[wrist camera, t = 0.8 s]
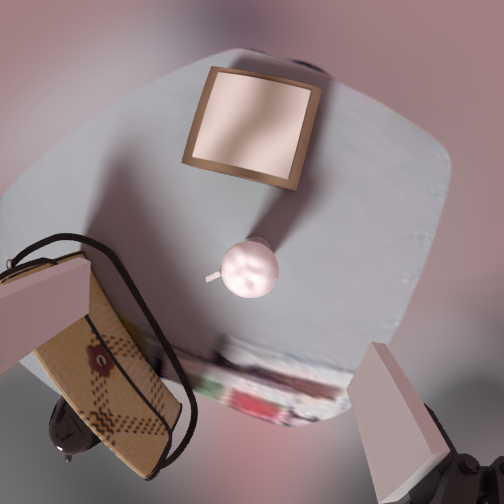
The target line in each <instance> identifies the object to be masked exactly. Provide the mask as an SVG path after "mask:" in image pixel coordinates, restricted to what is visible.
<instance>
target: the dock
mask: <svg viewBox="0 0 504 504" xmlns="http://www.w3.org/2000/svg"><path fill="white" fill-rule="evenodd" d="M321 92H322V88H319V87H316V86H312V85H309V84H305V83H301V82H297V81H293V80H289V79H285V78H281V77H276V76H271V75H266V74H261V73H256V72H250V71H244V70H238V69H231V68H223V67H215V66H211V69H210V72H209V75H208V77H207V80H206V83H205V86H204V89H203V92H202V95H201V98H200V101H199V104H198V107H197V110H196V113H195V117H194V120H193V123H192V126H191V130H190V133H189V137H188V140H187V144H186V147H185V151H184V155H183V158H182V162H181V163H184V164H186V165H189V166H192V167H195V168H200V169H205V170H209V171H214V172H218V173H223V174H227V175H231V176H235V177H240V178H244V179H248V180H252V181H256V182H260V183H263V184H267V185H271V186H275V187H278V188H282V189H286V190H289V191H293V192H294V191H296V190H297V187H298V183H299V179H300V176H301V172H302V168H303V164H304V160H305V156H306V152H307V149H308V145H309V141H310V137H311V133H312V129H313V125H314V121H315V117H316V112H317V108H318V104H319V100H320V96H321Z"/></svg>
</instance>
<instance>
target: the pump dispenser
mask: <svg viewBox="0 0 504 504" xmlns="http://www.w3.org/2000/svg"><path fill="white" fill-rule="evenodd" d="M48 434H49V438H50V440H51V443H52V444H53V446H54V447H55V448H56V449H57V450H59V451H60V452H62V453H64V454H65V460H66V461H68V462H71V460H72V455H76V454H81V453H83V452H86V451H88V450H89V449H91V448H93V447H95V446H96V445H97V444H99V443H100V442H102V441H101V440H100V439H99V438H98V436H97V435H96V434H95V433H94V432H93V431H92V430H91V429H90V428H89V427H88V426H87V425H86V423H85V422H84V421H83V420H82V419H81V418H80V417H79V415H78V414H77V413H76V412H75V411H74V409H73V408H72V407H71V406H70V405H69V403H68V402H67V401H66V399H65V398H64V397H63V396H62V394H61V395H60V397H59V398H58V400H57V402H56V404H55V407H54V409H53V412H52V414H51V417H50V421H49V428H48Z"/></svg>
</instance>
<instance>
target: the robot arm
mask: <svg viewBox="0 0 504 504" xmlns="http://www.w3.org/2000/svg"><path fill="white" fill-rule="evenodd" d="M90 267H91V261H88V260H86V259H83V258H81V257H78V258H75V259H72V260H69V261H67V262H64V263H61V264H58V265H55V266H53V267H50V268H47V269H44V270H42V271H39V272H36V273H34V274H31V275H28V276H26V277H23V278H21V279H18V280H15V281H13V282H10V283H8V284H5V285H3V286H0V374H1V373H3V372H4V371H5V370H6V369H8V368H10V367H11V366H12V365H14V364H15V363H16V362H18V361H19V360H21V359H22V358H23V357H25V356H26V355H28V354H29V353H30V352H32V351H33V350H35V349H36V348H38V347H39V346H40V345H42V344H43V343H45V342H46V341H48V340H49V339H51V338H52V337H54V336H55V335H56V334H58V333H59V332H61V331H62V330H64V329H65V328H67V327H68V326H70V325H71V324H73V323H74V322H76V321H77V320H79V319H80V318H82V317H83V316H85V315H86V314H88V313H89V285H90ZM347 392H348V396H349V399H350V402H351V405H352V409H353V412H354V415H355V418H356V422H357V425H358V429H359V432H360V435H361V439H362V442H363V446H364V449H365V453H366V456H367V460H368V464H369V468H370V472H371V476H372V479H373V483H374V487H375V491H376V496H377V499H378V504H381V503H389V502H394V501H398V500H399V499H400V498H401V497H403V496H404V495H405V494H407V493H408V492H409V495H410V499H409V500H408V501H406V502H405V503H404V504H487V503H488V504H504V456H500V457H498V458H497V459H496V460H495V461H494V462H493V463H492V464H491V465H490V466H489V467H488V466H480V464H479V462H478V461H477V460H476V459H475V458H474V457H472V456H471V455H469V454H465V453H464V454H459V455H458V453H457V451H456V449H455V448H454V446H453V444H452V442H451V441H450V439H449V437H448V435H447V434H446V432H445V430H444V429H442V428H443V427H442V425H441V424H440V422H438V419H437V417H436V415H435V414H434V412H433V411H432V410H431V409H430V408H429V407H428V406H427V405H426V404H425V403H423V402H422V401H421V399H420V398H419V396H418V395H417V393H416V391H415V389H414V388H413V386H412V385H411V383H410V382H409V380H408V378H407V377H406V375H405V374H404V372H403V371H402V369H401V368H400V366H399V365H398V363H397V361H396V360H395V358H394V357H393V355H392V354H391V352H390V351H389V349H388V348H387V346H386V345H385V344H382V343H377V342H370V344H369V346H368V348H367V350H366V352H365V355H364V357H363V359H362V361H361V363H360V365H359V367H358V369H357V370H356V372H355V374H354V376H353V378H352V380H351V382H350V384H349V385H348V387H347Z"/></svg>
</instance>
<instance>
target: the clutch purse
mask: <svg viewBox="0 0 504 504" xmlns="http://www.w3.org/2000/svg"><path fill="white" fill-rule="evenodd" d="M59 240H73V241H78V242H82V243H85V244H87V245H90V246H92V247H94V248H96V249H98V250H100V251H102V252H103V253H104V254H106V255H107V256H108V257H109V258H110V259H111V261H112V262H113V264H114V265H115V267H116V268H117V270H118V271H119V273H120V275H121V276H122V278H123V279H124V281H125V283H126V284H127V286H128V287H129V289H130V291H131V292H132V294H133V296H134V297H135V299H136V301H137V302H138V304H139V306H140V307H141V309H142V311H143V312H144V314H145V316H146V317H147V319H148V321H149V323H150V324H151V326H152V328H153V330H154V332H155V333H156V335H157V337H158V339H159V341H160V342H161V344H162V346H163V348H164V349H165V351H166V353H167V355H168V357H169V358H170V360H171V362H172V364H173V366H174V368H175V370H176V372H177V374H178V376H179V378H180V380H181V382H182V384H183V386H184V389H185V391H186V393H187V396H188V398H189V401H190V404H191V420H190V424H189V428H188V430H187V433H186V435H185V437H184V439H183V440H182V442H181V444H180V445H179V446H178V448H177V449H176V450H175V451H174V452H173V454H172V455H171V456H169V457H168V458H167V459H166V457H167V455H168V453H169V450H170V448H171V446H172V445H171V444H172V433H173V430H174V428H175V426H176V424H177V422H178V419H179V417H180V414H181V412H182V404H181V403H179V402H178V401H177V399H176V398H175V397H174V396H173V395H172V393H171V392H170V391H169V390H168V388H167V387H166V386H165V385H164V383H163V382H162V381H161V379H160V378H159V377H158V375H157V374H156V373H155V371H154V370H153V369H152V367H151V366H150V365H149V363H148V362H147V360H146V359H145V358H144V356H143V355H142V353H141V352H140V350H139V349H138V348H137V346H136V345H135V343H134V342H133V340H132V339H131V337H130V336H129V334H128V333H127V331H126V329H125V328H124V326H123V325H122V323H121V321H120V320H119V318H118V317H117V315H116V313H115V312H114V310H113V308H112V307H111V305H110V303H109V301H108V300H107V298H106V296H105V294H104V293H103V291H102V289H101V287H100V285H99V284H98V282H97V280H96V278H95V276H94V274H93V272H92V270H91V268H90V285H89V313H88V314H86V315H85V316H83V317H82V318H80V319H79V320H77V321H76V322H74V323H73V324H71V325H70V326H68V327H67V328H65V329H64V330H62V331H61V332H59V333H58V334H56V335H55V336H54V337H52V338H51V339H49V340H48V341H46V342H45V343H43V344H42V345H40V346H39V347H38V348H36V349H35V350H33V351H32V352H33V353H34V355H35V356H36V358H37V360H38V361H39V363H40V364H41V366H42V367H43V369H44V370H45V372H46V373H47V375H48V376H49V378H50V379H51V381H52V382H53V383H54V385H55V386H56V388H57V389H58V390H59V392H60V393H61V394H62V396H63V397H64V398H65V399H66V401H67V402H68V403H69V405H70V406H71V407H72V408H73V409H74V411H75V412H76V413H77V414H78V415H79V417H80V418H81V419H82V420H83V421H84V422H85V423H86V425H87V426H88V427H89V428H90V429H91V430H92V431H93V432H94V433H95V434H96V435H97V436H98V438H99V439H100V440H101V441H102V442H103V443H104V444H105V445H106V446H107V447H108V448H110V449H111V451H113V452H114V453H115V454H116V455H117V456H118V457H119V458H120V459H121V460H122V461H123V462H125V463H126V464H127V465H128V466H129V467H130V468H131V469H132V470H134V471H135V472H136V473H137V474H138V475H140V476H141V477H142V478H143V479H144V480H147V481H150V480H152V479H153V478H155V477H157V476H158V475H159V473H160V469H162V468H165V467H166V466H168V465H170V464H171V463H172V462H173V461H175V460H176V459H177V458H178V457H179V456H180V454H181V453H182V452H183V451H184V449H185V448H186V446H187V445H188V443H189V441H190V439H191V438H192V436H193V433H194V430H195V427H196V423H197V417H198V408H197V402H196V399H195V396H194V394H193V391H192V389H191V387H190V384H189V382H188V380H187V378H186V376H185V374H184V372H183V370H182V368H181V366H180V364H179V362H178V360H177V358H176V356H175V354H174V352H173V351H172V349H171V347H170V345H169V343H168V342H167V340H166V338H165V336H164V335H163V333H162V331H161V329H160V327H159V325H158V324H157V322H156V320H155V318H154V317H153V315H152V314H151V312H150V310H149V309H148V307H147V305H146V304H145V302H144V300H143V298H142V297H141V295H140V293H139V291H138V290H137V288H136V286H135V285H134V283H133V281H132V280H131V278H130V276H129V275H128V273H127V272H126V270H125V268H124V267H123V265H122V264H121V262H120V261H119V259H118V258H117V256H116V255H115V254H114V253H113V251H111V250H110V249H109V248H108V247H106V246H105V245H103V244H101V243H100V242H98V241H96V240H93V239H91V238H88V237H86V236H83V235H79V234H72V233H60V234H55V235H52V236H50V237H47V238H45V239H43V240H40V241H38V242H36V243H34V244H32V245H30V246H29V247H27V248H25V249H24V250H23V251H21V252H20V253H19V254H18V255H17V256H16V257H15V258H14V259H12V260H11V259H8V260H7V262H6V266H7V269H8V270H6V271H4V272H3V273H1V274H0V286H3V285H5V284H8V283H10V282H13V281H15V280H18V279H21V278H23V277H26V276H28V275H31V274H34V273H36V272H39V271H42V270H44V269H47V268H50V267H53V266H55V265H58V264H61V263H64V262H67V261H69V260H72V259H75V258H78V257H81V258H83V259H86V258H85V256H84V252H83V251H78V252H74V253H70V254H67V255H64V256H61V257H58V258H55V259H48V258H43V257H42V258H39V259H36V260H32V261H29V262H26V263H23V264H20V265H18V266H15V265H17V264H18V262H19V261H20V260H22V259H23V258H24V257H25V256H27V255H28V254H30V253H31V252H33V251H35V250H37V249H39V248H41V247H43V246H45V245H48V244H50V243H52V242H55V241H59ZM8 261H10V262H11V267H9V268H8V265H7V263H8ZM10 268H11V269H10ZM165 459H166V460H165ZM157 474H158V475H157Z"/></svg>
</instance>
